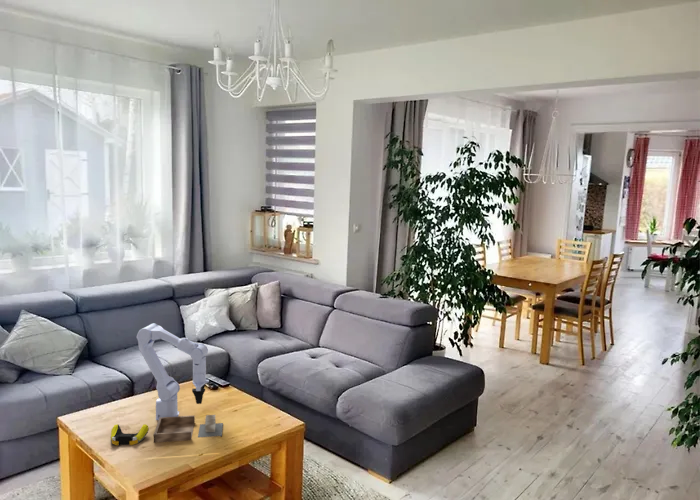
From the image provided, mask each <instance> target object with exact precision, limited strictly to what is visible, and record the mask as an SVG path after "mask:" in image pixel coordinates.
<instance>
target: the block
mask: <svg viewBox="0 0 700 500" xmlns="http://www.w3.org/2000/svg"><path fill="white" fill-rule="evenodd" d="M204 419H205V420H204V421H205V423H204V424H205V431H206V432H215V423H216V414H206V415H205V418H204Z"/></svg>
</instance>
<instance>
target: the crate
mask: <svg viewBox="0 0 700 500" xmlns="http://www.w3.org/2000/svg"><path fill="white" fill-rule="evenodd" d="M195 417H196V416H195V415H193V414H192V415H180V416H179V415H178V416H176V417H160V418H159V420H157V424H156V425H155V426H156V427H155V429H154V431H153V443H166V442H167V443H168V442H169V443H170V442H182V441H183V442H184V441H192V437H193V433H194V428H195V425H196V424H195V422H196V421H195V420H196V419H195Z"/></svg>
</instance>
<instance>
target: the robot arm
mask: <svg viewBox="0 0 700 500" xmlns="http://www.w3.org/2000/svg"><path fill="white" fill-rule="evenodd" d="M136 340H137V343H138V344H137V345H138V350H139V351H140V353H141V355H142V357H143V360H144V361H145V362H146V364H147V366H148V368H149V370H150V372H151V373H152V375H153V377H154V378H155V381H156V382H157V383H156V387H155V388H156V389H155V390H157V396H158V398H156V401H155V421H158V420H159V418H160V417H176V416H179V415H180V411H178V410H179V409H178V393H179V392H180V389H181V387H180V383H178V382H177V381H176V380H175V379H174V377H172V376H169V373H168V372H167V370H166V369H165V367H164V364H162V363H163V362H162V361H161V359H160V358H159V356H158V354H157V352H156V350H155V349H154V347H153V346H154V343H155V341H157V340H162V341H165V342H168V343H170V344H173V345H175V346H176V348H177V350H179V351H180V352H183V353H185V354H187V355H189V356H190V358H191V359H192V384H193V386H194V387H195V388H192V389H191V391H192V394H193V396H194V398H195V399H194V400H195V403H196V405H201V404H203V403H202V402H203V397H204V393H205V391H206V384H208V383H209V381H210V380H209V379H207V356H206V355H208V352H209V350H208V347H207V346H206V345H205V344H204V343H198V342H194V341H193V340H190V338H188V337H181V338H180V337H178V336H177V335H175V334H174V333H171V332H169V331H168V330H166V329H165V328H163V327H162V326H161V325H158V324H157V323H154V322H153V323H150V324H148V325H147V326H145V327H143V328H140V329H139V330H138V332H137V334H136Z"/></svg>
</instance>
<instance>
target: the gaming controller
mask: <svg viewBox="0 0 700 500" xmlns="http://www.w3.org/2000/svg"><path fill="white" fill-rule="evenodd" d="M149 429H150V427H149V425H148V424H146V423H145V424H142V426H141V427H140V429H139V431H138V432H135V433H124V432H123V431H122V428H121V426H120V425H119V424H117V423H116V424H114V425H113V426H112V428H111V430H110V442H111V444H113V445H114V446H122V445H123V446H127V445H129V446H133V445H137V444H139V443H140V442H142V441H143V440H144V439H145V437H146V436H147V435H148V433H149V431H150V430H149Z"/></svg>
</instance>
